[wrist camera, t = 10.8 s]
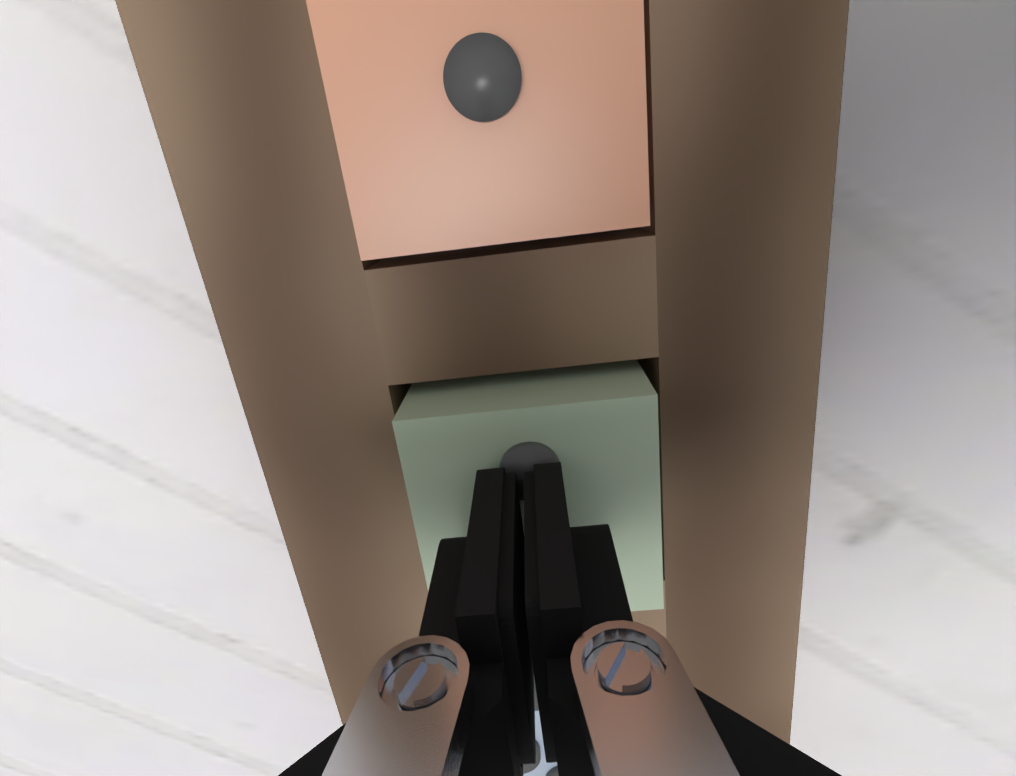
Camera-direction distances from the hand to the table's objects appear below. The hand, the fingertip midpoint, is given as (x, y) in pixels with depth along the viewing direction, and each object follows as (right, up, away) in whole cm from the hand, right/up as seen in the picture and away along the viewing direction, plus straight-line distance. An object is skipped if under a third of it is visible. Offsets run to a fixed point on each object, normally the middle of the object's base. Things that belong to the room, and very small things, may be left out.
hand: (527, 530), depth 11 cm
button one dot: (-1, +9, 0) cm, 9 cm away
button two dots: (0, +1, +3) cm, 3 cm away
